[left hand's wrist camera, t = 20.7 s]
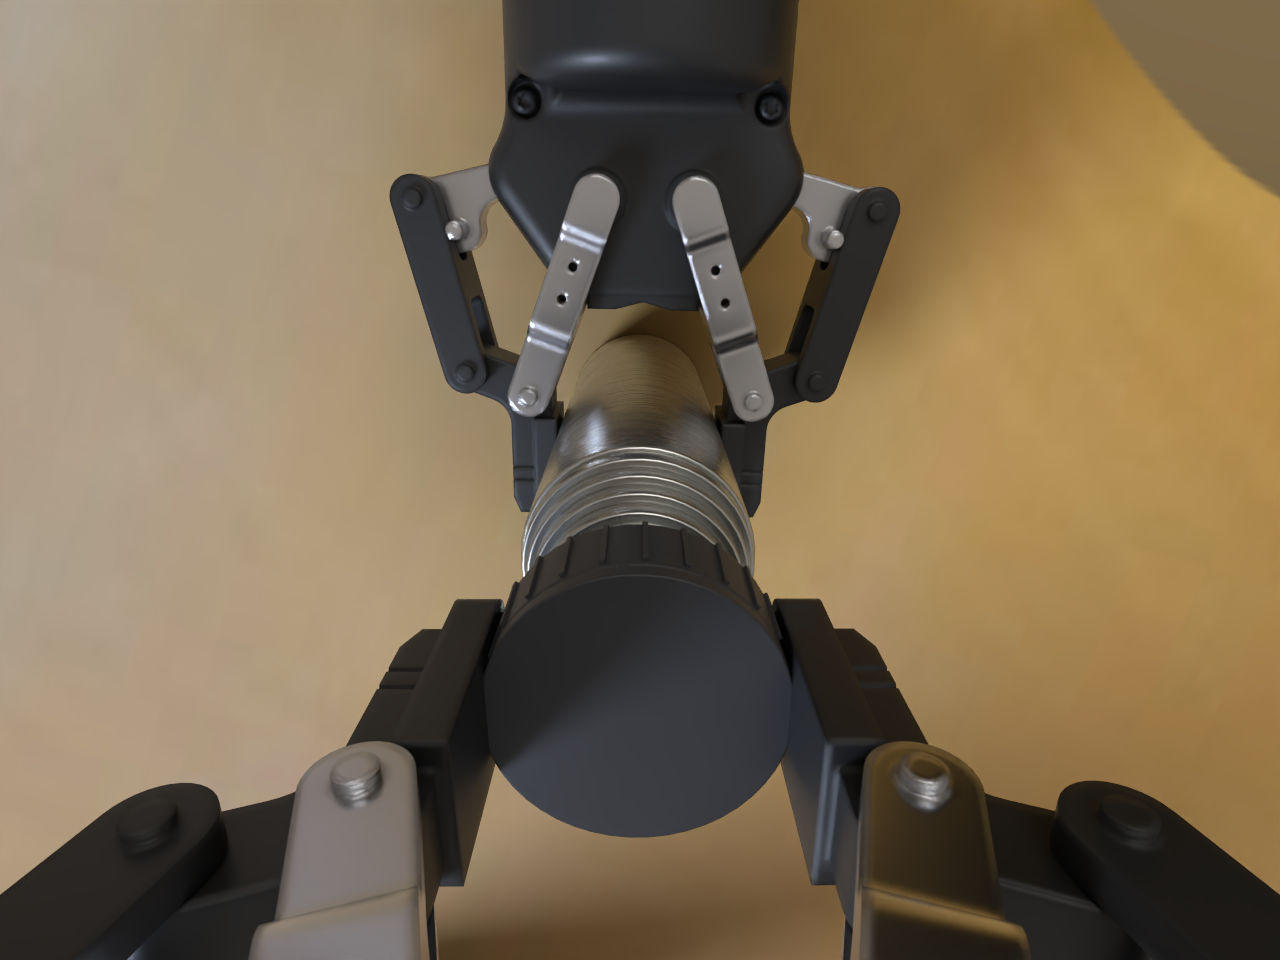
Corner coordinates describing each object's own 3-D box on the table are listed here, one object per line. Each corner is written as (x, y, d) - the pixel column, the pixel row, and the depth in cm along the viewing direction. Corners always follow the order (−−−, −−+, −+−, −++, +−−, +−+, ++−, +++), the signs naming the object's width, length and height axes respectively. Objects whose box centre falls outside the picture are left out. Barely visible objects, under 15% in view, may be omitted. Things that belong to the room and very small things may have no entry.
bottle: (666, 310, 28) (713, 487, 10) (723, 423, 29) (849, 747, 12) (552, 371, 28) (411, 632, 11) (613, 478, 30) (575, 860, 12)
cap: (652, 803, 13) (654, 887, 12) (442, 661, 12) (412, 731, 11) (835, 634, 12) (867, 700, 11) (620, 460, 11) (616, 505, 10)
